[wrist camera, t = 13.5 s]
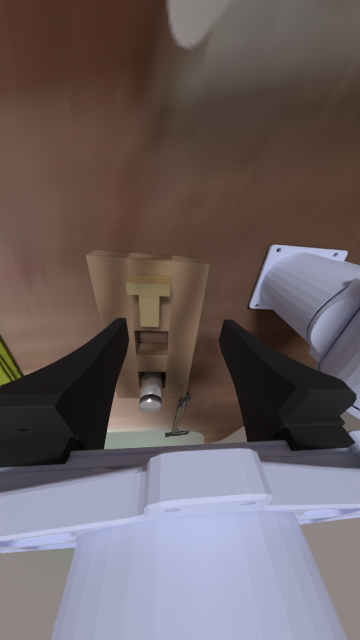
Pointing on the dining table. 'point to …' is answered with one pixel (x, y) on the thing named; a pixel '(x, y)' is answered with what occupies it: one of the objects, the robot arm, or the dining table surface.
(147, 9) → the dining table surface
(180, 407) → the tactical tomahawk
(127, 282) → the key
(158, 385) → the peg
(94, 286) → the board
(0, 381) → the dish towel
